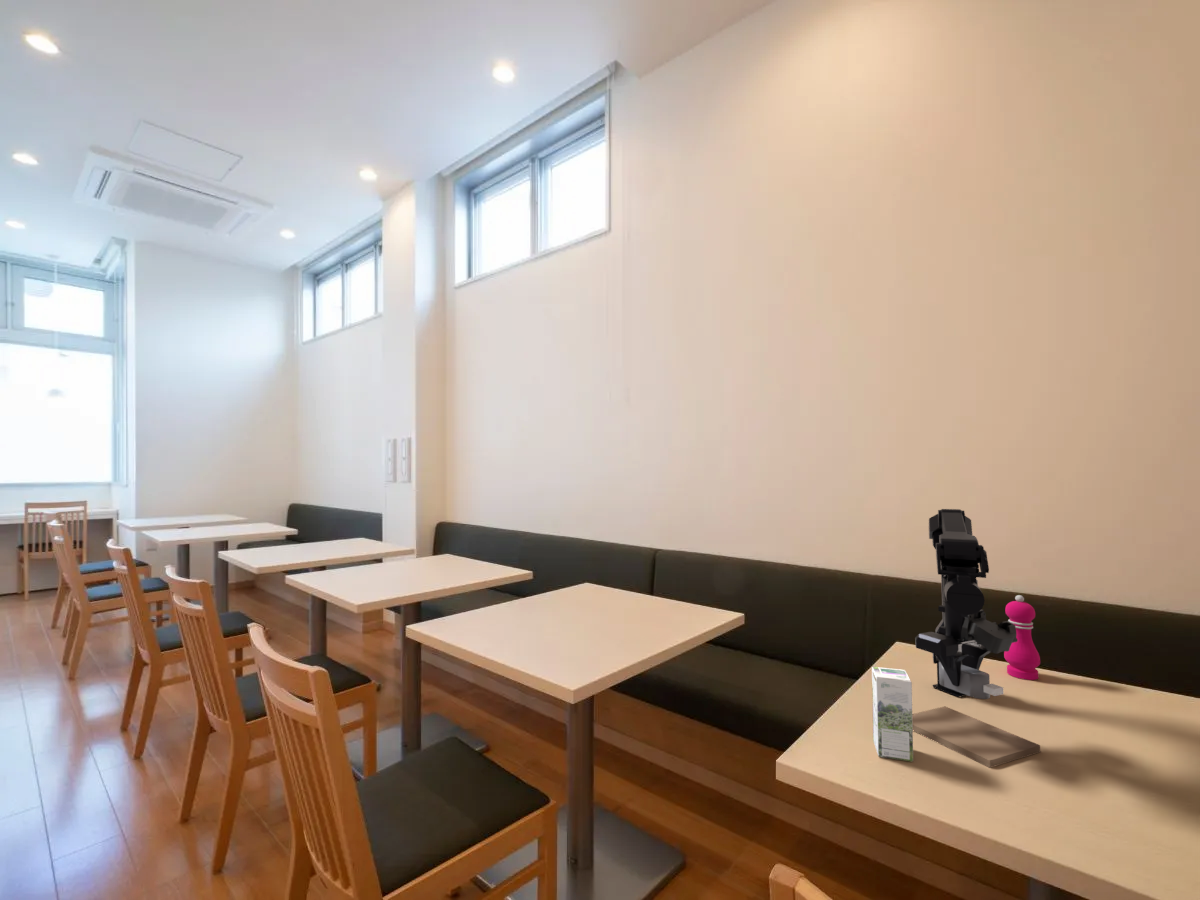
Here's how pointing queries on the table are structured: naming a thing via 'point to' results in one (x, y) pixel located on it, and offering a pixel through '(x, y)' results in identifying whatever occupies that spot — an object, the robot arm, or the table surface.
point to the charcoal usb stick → (971, 683)
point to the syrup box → (892, 713)
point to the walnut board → (972, 736)
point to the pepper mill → (1022, 641)
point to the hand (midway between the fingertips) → (963, 684)
